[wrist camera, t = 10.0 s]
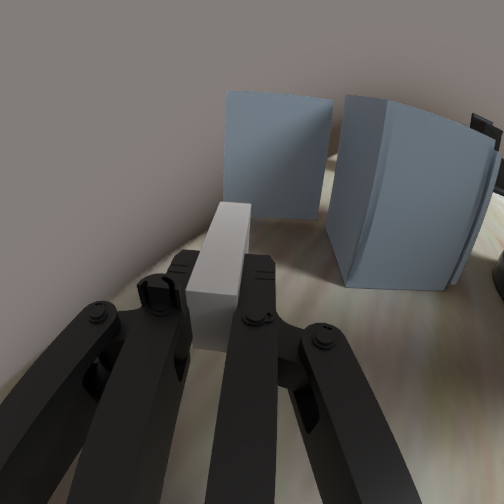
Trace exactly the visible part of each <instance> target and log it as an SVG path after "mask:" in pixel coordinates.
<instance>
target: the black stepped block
mask: <svg viewBox="0 0 504 504" xmlns="http://www.w3.org/2000/svg"><path fill="white" fill-rule="evenodd" d="M470 128H471V129H473V130H475V131H477V132H480V133H482V134H484V135H486V136H488V137H490V138H492V139H494V140H496V141H495V146H494V150H495V151H497V152H498V151H499V147H500V142H501V136H502V133H503V131H502V130H500V129H498V128H496V127H494V126H493V122H491V121H489V120H487V119H484V118H483V117H480V116H478V115H476V114H474V113H472V117H471V123H470ZM493 192H495V193H497V194H500V195H502V196H504V159H503V158H501V163H500V167H499V171H498V175H497V179H496V182H495V186H494V189H493Z"/></svg>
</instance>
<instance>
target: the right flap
mask: <svg viewBox="0 0 504 504" xmlns="http://www.w3.org/2000/svg"><path fill="white" fill-rule="evenodd" d="M333 102H334V101H333V100H327V99H321V98H313V97H306V96H298V95H289V94H279V93H266V92H249V91H227V96H226V120H225V121H226V122H225V150H224V195H223V196H224V198H223V202H234V203H248V204H251V215H250V217H261V218H283V219H303V220H317V215H318V210H319V204H320V198H321V191H322V185H323V179H324V172H325V165H326V158H327V151H328V144H329V136H330V128H331V120H332V111H333Z"/></svg>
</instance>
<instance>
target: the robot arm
mask: <svg viewBox="0 0 504 504" xmlns="http://www.w3.org/2000/svg"><path fill="white" fill-rule="evenodd" d="M250 215H251V204H248V203H234V202H220V204H219V206H218V208H217V211H216V213H215V216H214V218H213V220H212V223H211V226H210V228H209V230H208V233H207V235H206V238H205V240H204V243H203V245H202V248H201V251H196V250H184V249H183V250H182V251H180V252H179V253H178V254H177V255H175V256H174V258H173V260H172V262H171V265H170V266H169V268H168V270H167V272H166V274H153V275H149V276H147V277H145V278H143V279H141V280H140V281H139V283H138V284H137V288H138V293H139V297H140V300H141V304H142V306H141V308H139V309H135V310H128V311H118V312H117V309H116V307H115V305H113V304H112V303H110V302H107V301H96V302H94V303H91V304H89V305H88V306H87V307H85V308H84V309H83V310H82V311H81V312H80V313H79V314H78V315H77V316H76V317H75V318H74V319H73V320H72V321H71V323H70V324H69V325H68V326H67V327H66V328H65V329H64V330H63V331H62V332H61V333H60V334H59V335H58V337H57V338H56V339H55V340H54V341H53V342H52V343H51V344H50V345H49V346H48V348H47V349H46V350H45V351H44V352H43V353H42V354H41V356H40V357H39V358H38V359H37V360H36V361H35V362H34V364H33V365H32V366H31V367H30V368H29V370H28V371H27V372H26V373H25V374H24V376H23V377H22V378H21V379H20V380H19V382H18V383H17V384H16V385H15V387H14V388H13V389H12V390H11V392H10V393H9V394H8V396H7V397H6V398H5V399H4V401H3V402H2V403H1V405H0V504H47V502H48V501H49V499H50V497H51V496H52V494H53V492H54V491H55V489H56V488H57V486H58V484H59V483H60V481H61V480H62V478H63V476H64V475H65V473H66V472H67V470H68V468H69V467H70V465H71V464H72V462H73V461H74V459H75V457H76V456H77V454H78V453H79V451H80V450H81V448H82V447H83V449H82V452H81V455H80V458H79V462H78V465H77V468H76V471H75V475H74V478H73V482H72V485H71V489H70V492H69V496H68V500H67V504H159V503H160V497H161V492H162V487H163V482H164V476H165V471H166V467H167V462H168V457H169V452H170V447H171V443H172V438H173V433H174V429H175V424H176V420H177V415H178V411H179V406H180V402H181V398H182V394H183V389H184V385H185V381H186V377H187V373H188V368H189V364H190V351H189V350H190V346H191V342H192V343H193V348H196V349H204V350H212V351H221V352H227V355H226V361H225V368H224V374H223V381H222V387H221V394H220V401H219V407H218V414H217V421H216V427H215V434H214V441H213V448H212V455H211V461H210V468H209V475H208V482H207V490H206V497H205V504H274V498H275V474H276V443H277V393H278V386H281V387H284V388H287V389H288V392H289V395H290V399H291V402H292V405H293V409H294V412H295V415H296V418H297V422H298V425H299V428H300V431H301V435H302V438H303V441H304V444H305V448H306V451H307V454H308V457H309V461H310V464H311V467H312V470H313V473H314V477H315V480H316V483H317V486H318V489H319V493H320V496H321V499H322V502H323V504H422V502H421V500H420V497H419V495H418V492H417V490H416V487H415V485H414V482H413V480H412V478H411V475H410V473H409V470H408V468H407V466H406V463H405V461H404V459H403V457H402V454H401V452H400V450H399V447H398V445H397V443H396V441H395V438H394V436H393V434H392V432H391V430H390V427H389V425H388V423H387V421H386V419H385V417H384V415H383V412H382V410H381V408H380V406H379V404H378V402H377V400H376V398H375V396H374V393H373V391H372V389H371V387H370V385H369V383H368V381H367V379H366V377H365V375H364V373H363V371H362V369H361V367H360V365H359V363H358V361H357V359H356V357H355V355H354V353H353V351H352V349H351V347H350V345H349V343H348V341H347V339H346V338H345V336H344V334H343V333H342V332H341V331H340V330H339V329H338V328H336V327H335V326H333V325H330V324H326V323H315V324H312V325H309V326H308V327H307V328H305V329H301V328H297V327H294V326H292V325H289V324H287V323H286V322H284V321H283V320H282V319H281V318H280V317H279V316H278V314H277V312H276V287H275V262H274V261H273V259H272V258H271V256H269V255H257V254H248V249H249V232H250ZM493 278H494V281H495V284H496V286H497V288H498V290H499V292H500V294H501V296H502V297H503V299H504V251H503V252H502V253H501V255H500V257H499V259H498V261H497V263H496V265H495V267H494V270H493ZM83 445H84V446H83Z"/></svg>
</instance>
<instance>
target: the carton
mask: <svg viewBox="0 0 504 504" xmlns="http://www.w3.org/2000/svg"><path fill="white" fill-rule="evenodd" d="M495 141H496V140H494V139H492V138H490V137H488V136H486V135H484V134H482V133H480V132H477V131H475V130H473V129H471V128H468V127H466V126H464V125H461V124H458V123H456V122H454V121H451V120H448V119H446V118H443V117H441V116H438V115H435V114H432V113H429V112H427V111H424V110H420V109H417V108H414V107H411V106H408V105H404V104H401V103H397V102H394V101H390V100H386V99H379V98H372V97H364V96H355V95H345V104H344V112H343V121H342V128H341V136H340V143H339V150H338V157H337V163H336V169H335V176H334V182H333V188H332V193H331V199H330V204H329V210H328V215H327V220H326V226H325V228H326V231H327V233H328V236H329V239H330V242H331V245H332V247H333V250H334V253H335V256H336V259H337V262H338V265H339V268H340V271H341V274H342V277H343V280H344V284H345V287H350V288H372V289H398V290H433V291H444V289H445V287H446V285H447V283H448V282H449V283H450V285H456V283H457V281H458V279H459V277H460V275H461V273H462V271H463V269H464V266H465V264H466V262H467V260H468V258H469V255H470V253H471V251H472V248H473V246H474V243H475V241H476V238H477V236H478V233H479V231H480V228H481V226H482V223H483V220H484V217H485V214H486V211H487V208H488V205H489V202H490V199H491V196H492V193H493V189H494V186H495V182H496V179H497V175H498V171H499V167H500V163H501V158H502V153H500V152H497V151H495V150H494V146H495Z"/></svg>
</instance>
